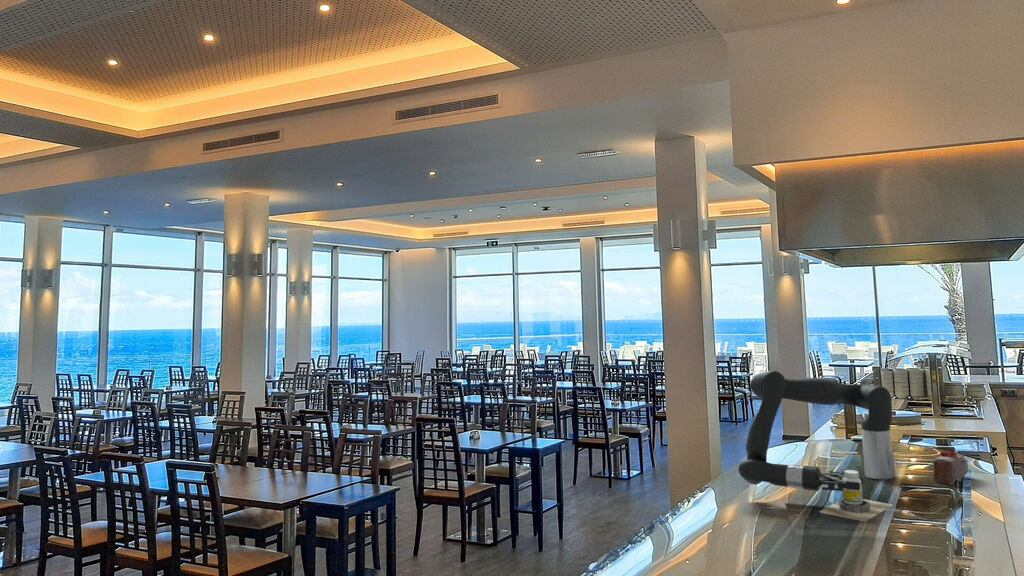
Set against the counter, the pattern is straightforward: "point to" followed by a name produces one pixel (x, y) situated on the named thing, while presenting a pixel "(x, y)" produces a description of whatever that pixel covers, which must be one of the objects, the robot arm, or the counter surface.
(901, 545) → the counter surface
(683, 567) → the counter surface
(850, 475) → the supplement bottle
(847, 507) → the bottle collar
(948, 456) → the food item
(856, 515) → the serving board
